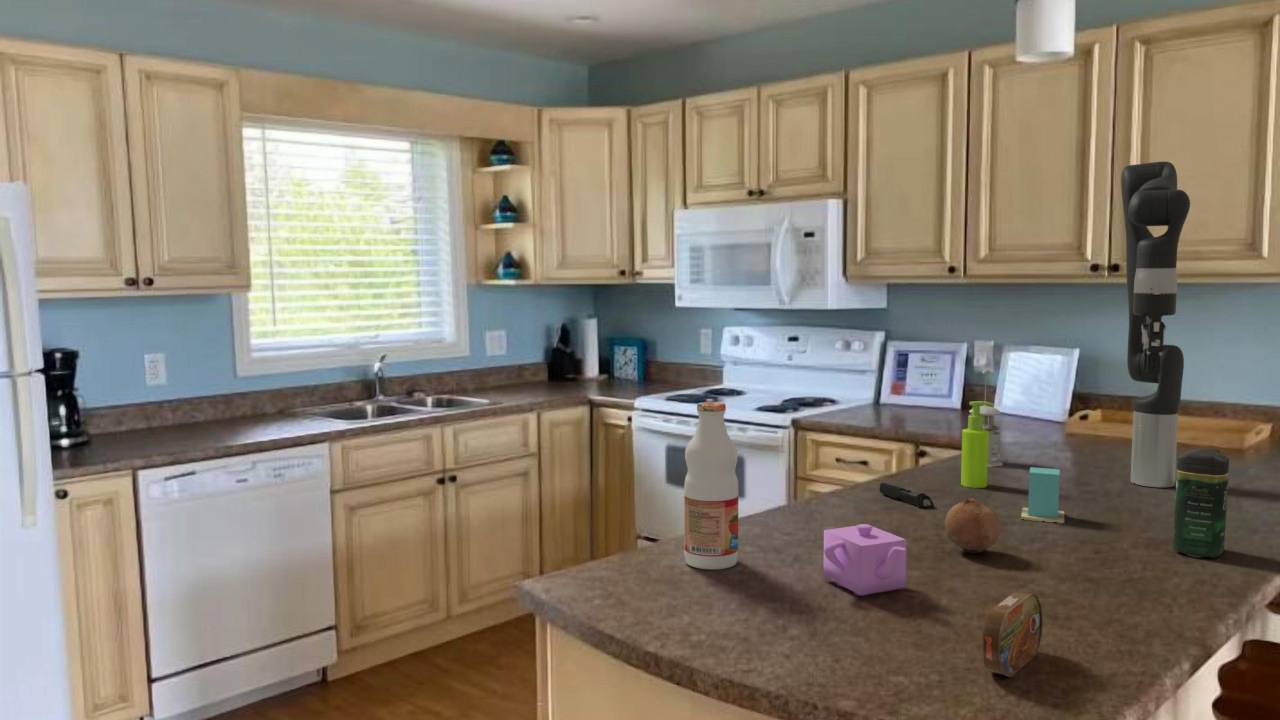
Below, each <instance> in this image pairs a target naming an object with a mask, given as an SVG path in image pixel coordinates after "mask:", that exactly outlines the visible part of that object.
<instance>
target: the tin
mask: <svg viewBox="0 0 1280 720" xmlns="http://www.w3.org/2000/svg"><path fill="white" fill-rule="evenodd" d="M981 630H982V631H981V638H982V655H983V657H982V658H983V659H982V661H983V665H984V667H985V669H986V670H987V671H989V672H990V673H993V674H997V675H1001V676H1005V677H1007V678H1012V677H1014V676H1016V674H1017V673H1018V672H1019V671H1021V669H1023V668H1024V667H1025V666H1026V665H1027V664H1028V663H1029V662H1030V661H1031V660H1033V659H1034V657H1035V656H1036V654H1037V652H1038V650H1039V648H1040V644H1041V639H1042V635H1043V634H1042V633H1043V611H1042V605H1041V600H1040V599H1039V597H1038V595H1036V594H1035V593H1023V592H1017V591H1016V592H1013V593H1011V594H1009V595H1008V596H1007V597H1005V598H1004V599H1003V600H1001V601H1000V602H999V603H997V604H996V605H995V606H993V607H992V608H991V609H989V611H988V612H987V614H986V616H985V619H984V622H983V624H982V629H981Z"/></svg>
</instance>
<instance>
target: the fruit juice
mask: <svg viewBox="0 0 1280 720" xmlns="http://www.w3.org/2000/svg"><path fill="white" fill-rule="evenodd" d="M726 407H727V406H726V403H724V402H719V401H704V402H703V401H702V402H699V403H697V406H696V410H697V412H696V413H697V414H698V422H697V426H696V430H695V433H694V435H693V436H692V438H691V439H690V440H689V442H688V443H687V445H686V447H685V451H684V458H685V459H684V460H685V464H686V466H687V472H686V475H685V478H684V486H683V487H684V488H683V497H684V499H683V502H684V503H683V504H684V505H683V507H684V508H683V509H684V510H683V512H684V513H683V518H684V519H683V520H684V521H683V524H684V525H683V526H684V527H683V533H684V534H683V535H684V536H683V537H684V540H683V543H684V545H683V548H684V551H683V552H684V553H683V554H684V560H685V563H686V564H687V565H688V566H690V567H693V568H696V569H701V570H711V571H713V570H725V569H728V568H732V567H734V566H735V565H736V564H738V559H739V480H738V477H737V474H736V467H737V464H738V457H739V456H738V455H739V453H738V447H737V446H736V444H735V443H734V441H733V440H732V439H731V437H730V435H729V434H728V433H729V432H728V430H727V428H726V423H725V418H724V417H725V414H726V411H727V410H726V409H727V408H726Z"/></svg>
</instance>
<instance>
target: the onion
mask: <svg viewBox="0 0 1280 720" xmlns="http://www.w3.org/2000/svg"><path fill="white" fill-rule="evenodd" d="M944 527H945V532H946V535H947V537H948V538H949V540H951V541H950V542H951V543H952V542H953V544H955V546H957V547H959V548H961V549H962V551H963V552H966V553H968V554H969V553H970V554H977V553H982V552H983V551H984V550H987V549H989V548H992V547H993V546H994V545H995V544H997V542H998V540H999V538H1000V536H1001V533H1002V528H1001V522H1000V519H999V517H998V516H997V513H995V511H993V510H992V509H991V508H990V507H988V506H986V505H984V504H982V503H981V502H979V501H978V500H977V499H975V498H973V497H969V498H966V499H965V501H961V502H958V503H957V504H956V503H955V504H954V505H953V506H952V507H951V508H950V509H949V510H948V512H947V514H946V515H945V521H944Z"/></svg>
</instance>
